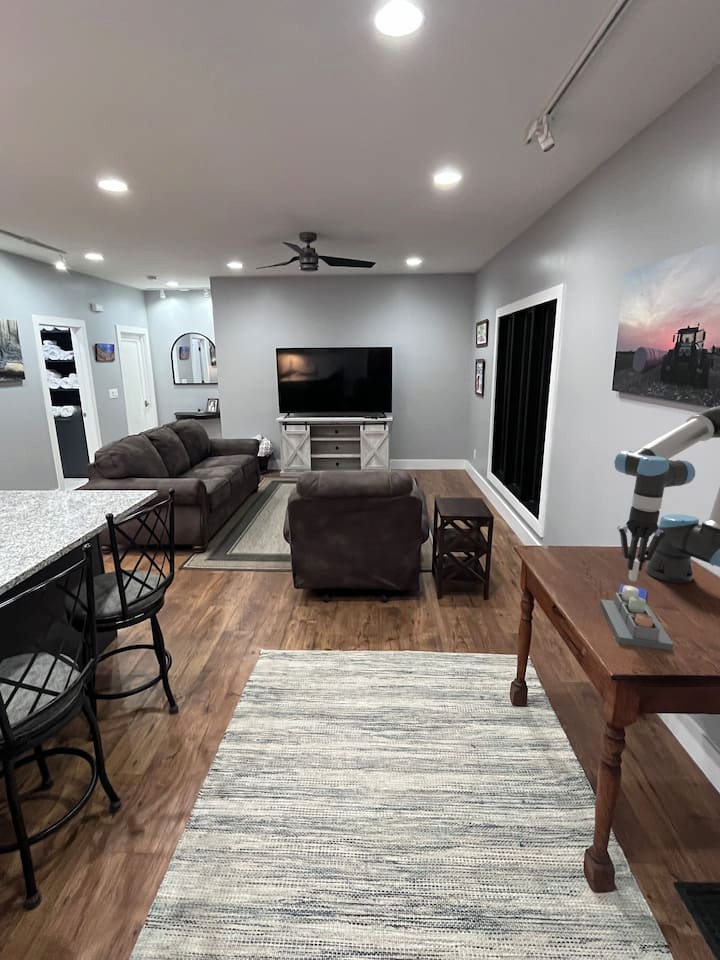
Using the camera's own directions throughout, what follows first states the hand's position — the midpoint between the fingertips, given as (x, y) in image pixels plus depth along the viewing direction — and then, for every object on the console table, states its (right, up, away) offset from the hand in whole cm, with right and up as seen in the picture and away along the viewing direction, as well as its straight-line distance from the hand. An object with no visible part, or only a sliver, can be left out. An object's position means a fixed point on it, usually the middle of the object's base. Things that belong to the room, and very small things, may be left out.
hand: (632, 579), depth 149 cm
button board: (-1, -14, -3) cm, 14 cm away
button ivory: (0, -7, +2) cm, 8 cm away
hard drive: (+8, -10, +15) cm, 19 cm away
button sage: (-1, -9, -4) cm, 10 cm away
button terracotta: (-3, -13, -10) cm, 17 cm away
